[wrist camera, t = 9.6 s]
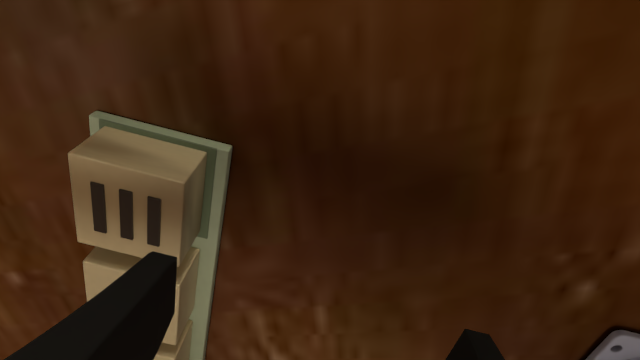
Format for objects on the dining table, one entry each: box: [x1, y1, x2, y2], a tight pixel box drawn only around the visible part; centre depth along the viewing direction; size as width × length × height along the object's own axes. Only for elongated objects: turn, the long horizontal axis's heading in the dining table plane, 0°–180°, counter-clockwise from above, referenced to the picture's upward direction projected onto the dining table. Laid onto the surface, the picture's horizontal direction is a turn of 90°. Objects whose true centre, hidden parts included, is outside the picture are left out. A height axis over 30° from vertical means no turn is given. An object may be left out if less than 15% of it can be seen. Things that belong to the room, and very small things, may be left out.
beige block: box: [68, 126, 207, 267], centre depth 17 cm, size 4×4×3 cm
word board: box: [83, 111, 233, 360], centre depth 21 cm, size 16×6×3 cm, turn 167°
